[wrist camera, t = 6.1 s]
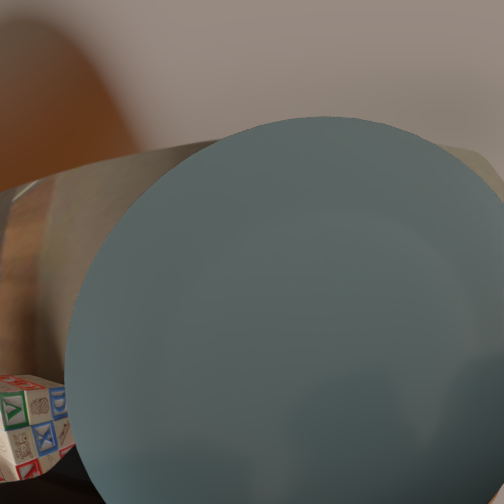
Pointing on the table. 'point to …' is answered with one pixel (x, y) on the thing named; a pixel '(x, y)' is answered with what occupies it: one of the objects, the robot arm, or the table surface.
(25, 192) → the table surface
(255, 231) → the light blue rounded piece
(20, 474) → the stack of blocks
